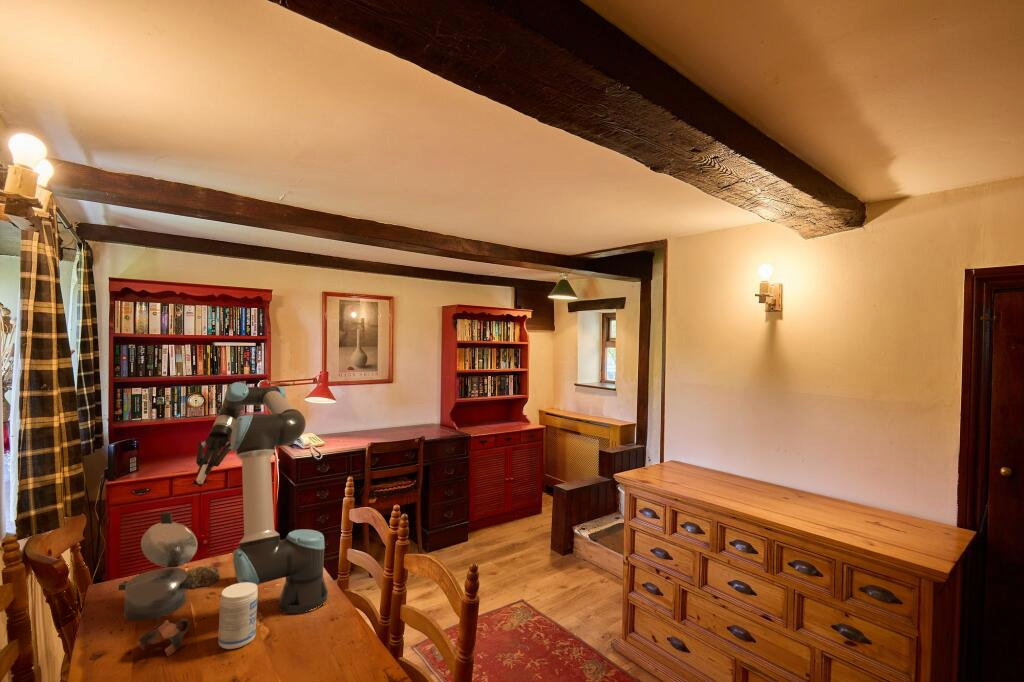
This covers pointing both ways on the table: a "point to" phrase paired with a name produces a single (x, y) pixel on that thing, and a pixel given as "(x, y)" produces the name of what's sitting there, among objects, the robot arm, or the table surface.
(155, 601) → the cooker pot
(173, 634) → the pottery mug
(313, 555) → the robot arm
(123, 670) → the table surface
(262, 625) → the table surface
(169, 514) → the lid
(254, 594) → the supplement tub
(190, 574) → the speckled stone
